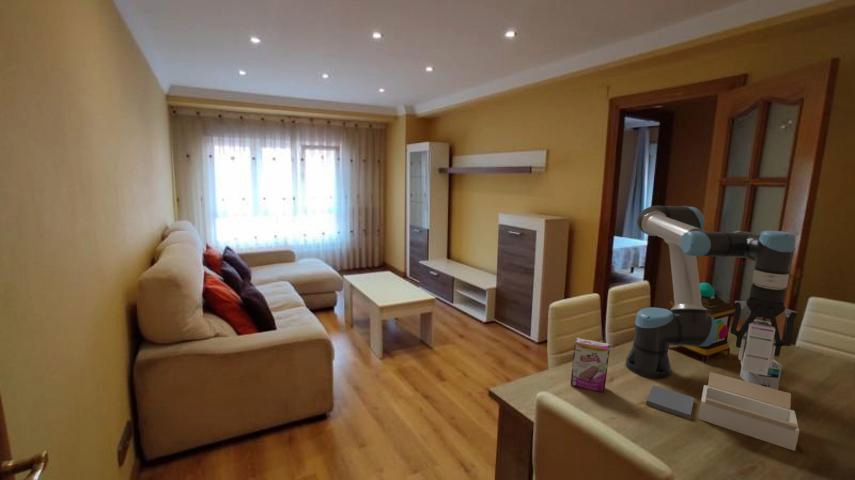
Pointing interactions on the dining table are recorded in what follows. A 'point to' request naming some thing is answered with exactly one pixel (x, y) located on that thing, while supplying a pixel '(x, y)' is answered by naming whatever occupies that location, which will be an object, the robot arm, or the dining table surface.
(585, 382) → the candy bar box
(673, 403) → the slate mat
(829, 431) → the dining table surface
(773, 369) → the light bulb box
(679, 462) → the dining table surface
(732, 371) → the dining table surface
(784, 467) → the dining table surface
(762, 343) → the syrup box
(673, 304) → the decorative lantern
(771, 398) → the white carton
